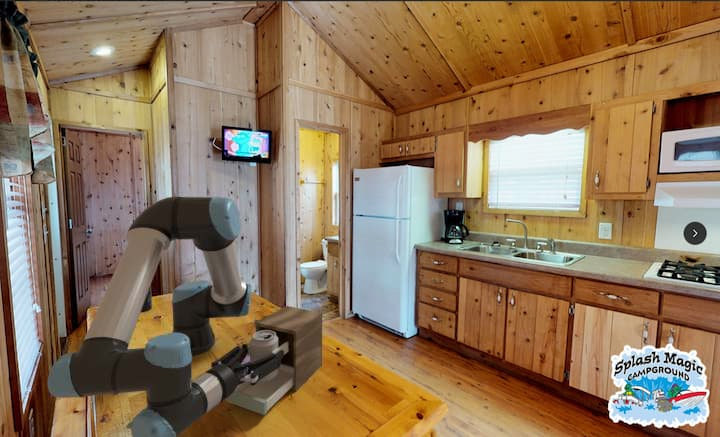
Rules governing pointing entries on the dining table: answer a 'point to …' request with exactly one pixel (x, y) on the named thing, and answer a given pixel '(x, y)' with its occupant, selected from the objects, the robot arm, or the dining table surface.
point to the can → (263, 349)
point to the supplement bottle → (147, 302)
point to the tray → (263, 391)
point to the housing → (297, 340)
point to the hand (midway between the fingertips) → (275, 343)
